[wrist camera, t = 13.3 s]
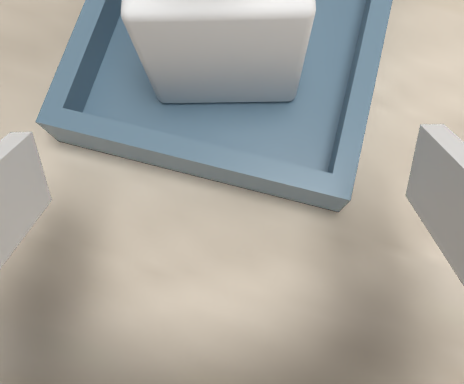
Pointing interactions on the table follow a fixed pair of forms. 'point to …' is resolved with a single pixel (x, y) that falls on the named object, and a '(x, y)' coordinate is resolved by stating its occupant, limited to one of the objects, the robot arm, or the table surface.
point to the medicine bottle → (221, 47)
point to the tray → (227, 108)
